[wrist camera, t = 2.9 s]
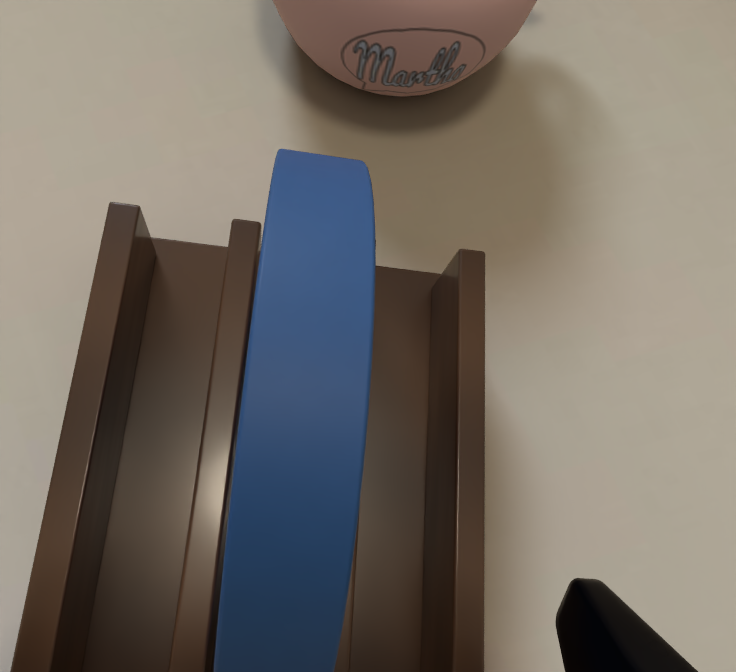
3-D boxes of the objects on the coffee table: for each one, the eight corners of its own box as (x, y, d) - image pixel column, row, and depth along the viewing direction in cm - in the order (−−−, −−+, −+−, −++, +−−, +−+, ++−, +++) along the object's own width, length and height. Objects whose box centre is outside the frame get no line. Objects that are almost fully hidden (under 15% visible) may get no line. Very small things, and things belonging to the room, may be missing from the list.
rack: (455, 705, 18) (510, 752, 14) (31, 694, 17) (-38, 744, 13) (461, 290, 22) (505, 237, 18) (120, 248, 21) (89, 180, 17)
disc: (288, 670, 17) (344, 874, 6) (226, 668, 16) (181, 875, 6) (321, 288, 20) (392, 22, 10) (271, 282, 20) (290, 3, 10)
